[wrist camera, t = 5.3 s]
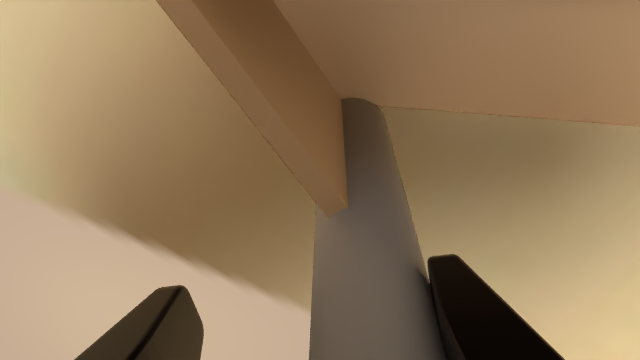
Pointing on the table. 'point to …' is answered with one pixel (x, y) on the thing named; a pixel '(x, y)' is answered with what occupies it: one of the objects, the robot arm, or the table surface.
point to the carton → (480, 55)
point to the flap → (327, 181)
